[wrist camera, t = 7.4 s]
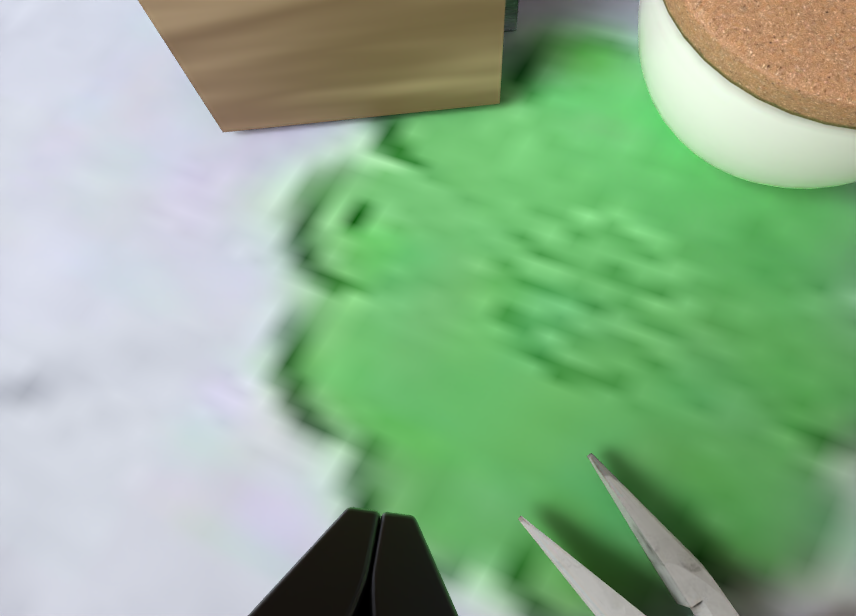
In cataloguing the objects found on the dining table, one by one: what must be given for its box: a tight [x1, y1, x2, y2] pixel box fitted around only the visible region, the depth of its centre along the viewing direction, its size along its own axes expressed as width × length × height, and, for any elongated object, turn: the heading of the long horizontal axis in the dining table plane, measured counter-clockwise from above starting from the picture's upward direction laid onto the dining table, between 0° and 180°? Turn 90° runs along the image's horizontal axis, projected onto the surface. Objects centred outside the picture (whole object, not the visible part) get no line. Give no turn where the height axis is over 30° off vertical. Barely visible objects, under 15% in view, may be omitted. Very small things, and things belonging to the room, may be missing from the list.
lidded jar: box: [638, 0, 856, 189], centre depth 21 cm, size 11×11×9 cm
